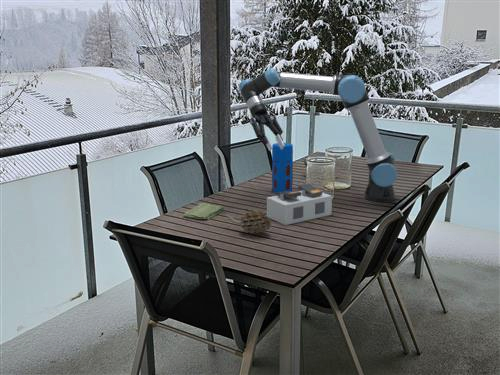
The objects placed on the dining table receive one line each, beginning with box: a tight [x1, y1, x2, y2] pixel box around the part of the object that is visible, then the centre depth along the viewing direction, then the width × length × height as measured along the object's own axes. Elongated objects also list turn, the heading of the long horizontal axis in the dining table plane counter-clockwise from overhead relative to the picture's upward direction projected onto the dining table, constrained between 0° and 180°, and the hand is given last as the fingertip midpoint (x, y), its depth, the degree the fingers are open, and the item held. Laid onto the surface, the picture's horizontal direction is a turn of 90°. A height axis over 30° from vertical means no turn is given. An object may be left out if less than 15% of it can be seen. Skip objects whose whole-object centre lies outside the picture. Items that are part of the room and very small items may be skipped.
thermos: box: [271, 142, 294, 194], centre depth 268 cm, size 11×11×25 cm
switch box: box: [266, 186, 333, 226], centre depth 229 cm, size 14×26×12 cm, turn 122°
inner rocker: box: [297, 183, 323, 197], centre depth 230 cm, size 10×6×2 cm, turn 32°
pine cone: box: [226, 209, 272, 235], centre depth 209 cm, size 22×10×10 cm, turn 62°
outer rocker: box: [276, 190, 301, 198], centre depth 224 cm, size 10×6×2 cm, turn 32°
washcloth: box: [182, 202, 224, 221], centre depth 234 cm, size 13×18×3 cm
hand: (276, 148), depth 227 cm, fingers open, 6 cm apart
